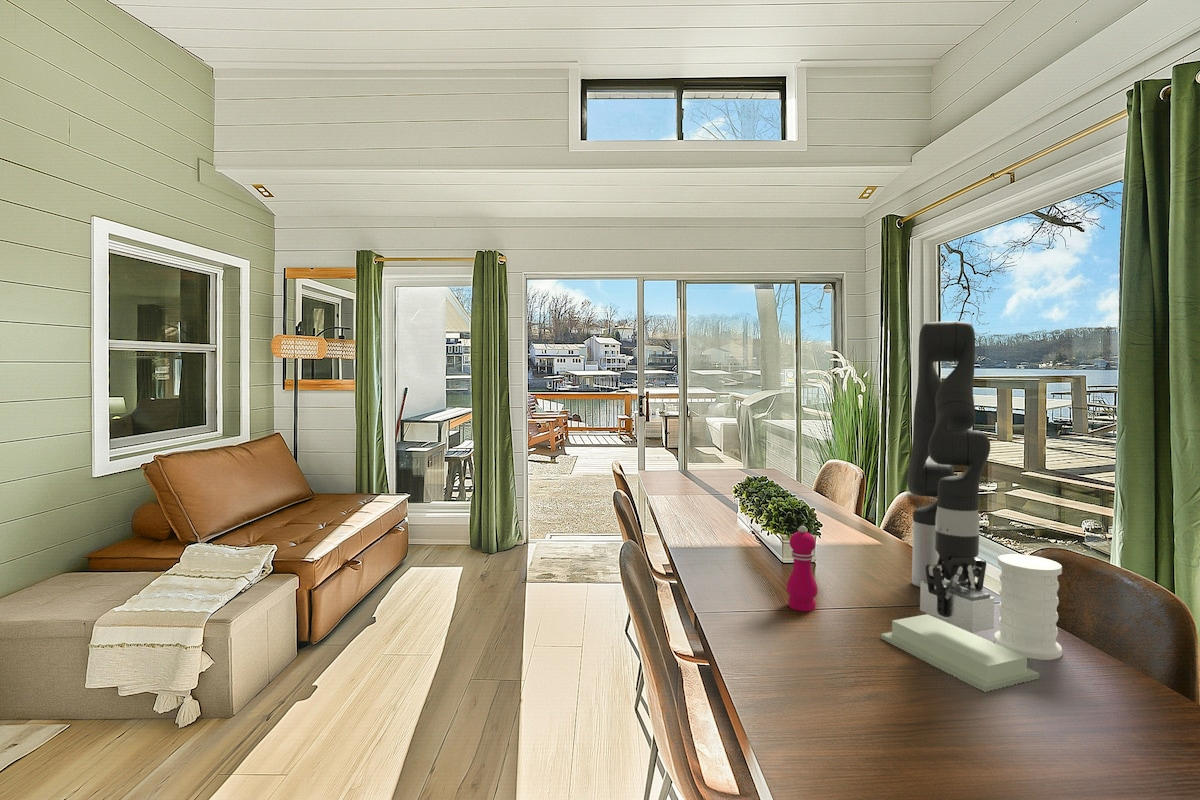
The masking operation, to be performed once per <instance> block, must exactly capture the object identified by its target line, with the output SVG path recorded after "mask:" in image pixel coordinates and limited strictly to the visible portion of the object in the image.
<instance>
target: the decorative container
mask: <svg viewBox="0 0 1200 800" xmlns="http://www.w3.org/2000/svg"><path fill="white" fill-rule="evenodd" d="M997 565H998V566H999V567H1000V568H1001V572H1000V574H999V576H998V577H999V581H1000V582H1001V583H1000V584H1001V586H1000V587H999V590H998V593H999V594H998V595H999V596H1000V602H999V604H998V609H999V612H1000V616H999V618H998V626H999V630H997V631H995V633H994V635H993V641H994V642H993V643H996V644H998V645H1000V646H1003V647H1005V648H1007V649H1009V650H1012V651H1014V652H1016V653H1019V654H1021V655H1023V656H1026V657H1027V659H1031V660H1032V659H1033V660H1039V661H1052V660H1053V661H1054V660H1058V659H1060V658H1061V657H1062V655H1063V648H1062V645H1061V644H1060V643H1058V642H1057V637H1058V636H1059V630H1058V628H1057V622H1058V620H1059V613H1058V612H1057V609H1058V608H1057V607H1058V606H1059V604H1060V600H1059V597H1058V591H1059V589H1060V583H1059V581H1058V577H1059V575H1062V573H1063V566H1062V564H1060V563H1059V562H1057V561H1054V560H1052V559H1048V558H1045V557H1042V556H1036V555H1030V554H1021V553H1020V554H1019V553H1018V554H1017V553H1006V554H1000V555H999V556H998V557H997Z"/></svg>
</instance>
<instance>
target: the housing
mask: <svg viewBox="0 0 1200 800" xmlns="http://www.w3.org/2000/svg"><path fill="white" fill-rule="evenodd" d="M944 581H945V582H950V581H949V580H946V579H945V578H944ZM966 585H967V584H966ZM966 585H963V584H960V583H959V582H957V585H956V588H954V589H953V590H952V593H951V596H950V598H949V599H950V616H949V617H944V616H941V615H939V614H938V611H937V596H936V595H934V594H931V593H929V591H928V583H927V579H924V581H922V582H920V587H919V588H920V592H919V593H920V594H919V596H920V597H919V611H921V612H923V613H926V614H928V615H931V616H933V617H935V618H938V619H940V620H942V621H944V622H947V623H949V624H951V625H954V626H956V627H958V628H961V629H963V630H965V631H968V632H970V633H972V634H974V633H977V632H982V631H988V630H994V629H995V628H994V625H995V623H994V622H995V618H994V616H995V597H993V596H991V593H988V592H985V591H982V590H981V591H980V590H977V589H975V588H972V587H969V586H966ZM934 586H935V589H936V585H934ZM945 590H946V586H944V587H943V591H944V592H945Z"/></svg>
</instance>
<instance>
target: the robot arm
mask: <svg viewBox="0 0 1200 800" xmlns="http://www.w3.org/2000/svg"><path fill="white" fill-rule="evenodd" d="M975 359H976V335H975V329H974V326H973V324H971V323H970V322H967V321H930V322H928V321H927V322H926V323H924V324H923V325H922V326H921V329H920V332H919V337H918V365H917V366H918V369H917V371H918V373H917V375H918V376H917V390H916V396H915V397H916V398H915V404H914V412H913V425H912V426H913V429H912V430H913V431H912V432H913V433H912V435H913V436H912V447H911V452H910V457H909V459H910V460H909V463H908V464H909V465H908V469H907V478H906V481H907V487H908V490H909V492H910V493H911V494H912V495H914V496H919V497H931V498H937V499H936V501H934V502H933V503H930V504H928V505H925V506H921V507H917V508H915V509H914V510H913V512H912V550H911V551H912V557H911V558H912V560H911V561H912V563H911V565H912V566H911V584H912V585H913V586H915V587H917V588H920V582H922V581H924V579H927V583H928V591H929V593H931V594H934V595H936V596H937V611H938V614H939V615H941V616H944V617H949V616H950V599H949V598H950V596H951V593H952V590H953V589H954V588H956V585H957V582H958V583H960V584H963V585H966V586H969V587H972V588H975V589H977V590H980V591H982V590H983V589H984V588H983V587H984V584H985V583H984V582H985V575H986V569H987V562H986V560H982V559H979V558H976V557H978V556H979V555H980V554H979V553H980V551H979V550H980V549H979V548H980V517H979V490H980V489H979V488H980V483H981V478H982V474H983V472H984V469H985V467H986V464H987V461H988V459H989V456H990V452H991V442H990V439H989V437H988V436H987V434H986V433H984V432H983V431H980V430H977V429H976V430H974V429H973V430H972V428H973V427H974V425H975V423H976V410H975V409H976V407H975V400H974V399H975V398H974V391H973V390H974V378H975V377H974V376H975V362H976V361H975ZM935 362H936V363H937V362H938V363H939V362H940V363H941V362H942V363H944V362H945V363H948V362H949V363H952V362H953V363H955V362H956V363H957V364H956V366H955V368H954V369H953V370H952V371H951V373H949V374H948V375H947V376H946V377H945V378H944V379H943V381H942V379H941V378H940V377H939V374H938V373H937V371H936V368H935V366H934V363H935ZM970 429H971V430H970ZM929 458H930V459H931V460H932V461H927V460H928V459H929ZM953 466H966V467H967V468H966V470H965V471H964V472H962V473H960V474H956V475H955V470H954V467H953ZM944 578H945V579H946V580H949V581H950V582H945V581H944ZM976 578H977V581H976ZM934 585H936V589H935V586H934ZM944 586H946V590H945V592H944V591H943V587H944Z"/></svg>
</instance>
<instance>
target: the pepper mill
mask: <svg viewBox="0 0 1200 800" xmlns="http://www.w3.org/2000/svg"><path fill="white" fill-rule="evenodd" d="M815 539H816V538H815V537H814V536H813V535H812V534H811V533H810V532H807V527H806V526H805V525H800V526H799V527H798V531H796V532H794V533H792V534H791V536H790V538H789V546H790V548H791V549H792V551H791V558H792V559H793V569H792V571H791V574H790V576H788V580H787V583H786V592H787V593H788V594H789V597H788V607H789V608H790V609H792V610H794V611H798V612H812V611H814V610H816V600H815V599H814V598H815V597H816V596H817V595H818V585H817V582H816V579H815V577H814V575H813V571H812V560H813V559H814V552H813V551H814V550H815V548H816V540H815Z"/></svg>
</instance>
